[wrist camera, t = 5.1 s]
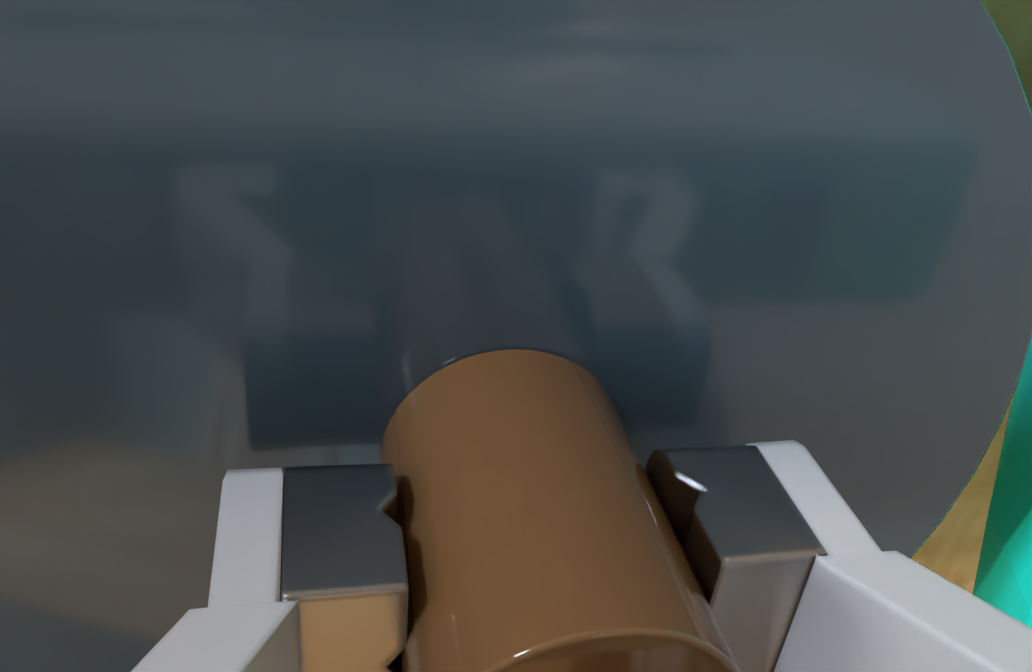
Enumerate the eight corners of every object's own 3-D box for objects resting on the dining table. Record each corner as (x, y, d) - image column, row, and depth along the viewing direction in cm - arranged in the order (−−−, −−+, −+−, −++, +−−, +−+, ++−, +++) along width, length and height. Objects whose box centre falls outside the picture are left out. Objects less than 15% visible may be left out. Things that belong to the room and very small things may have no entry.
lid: (9, 767, 13) (-126, 1226, 9) (-363, -346, 6) (-1599, -540, 2) (821, 675, 15) (999, 995, 11) (1166, -169, 9) (1877, -111, 5)
